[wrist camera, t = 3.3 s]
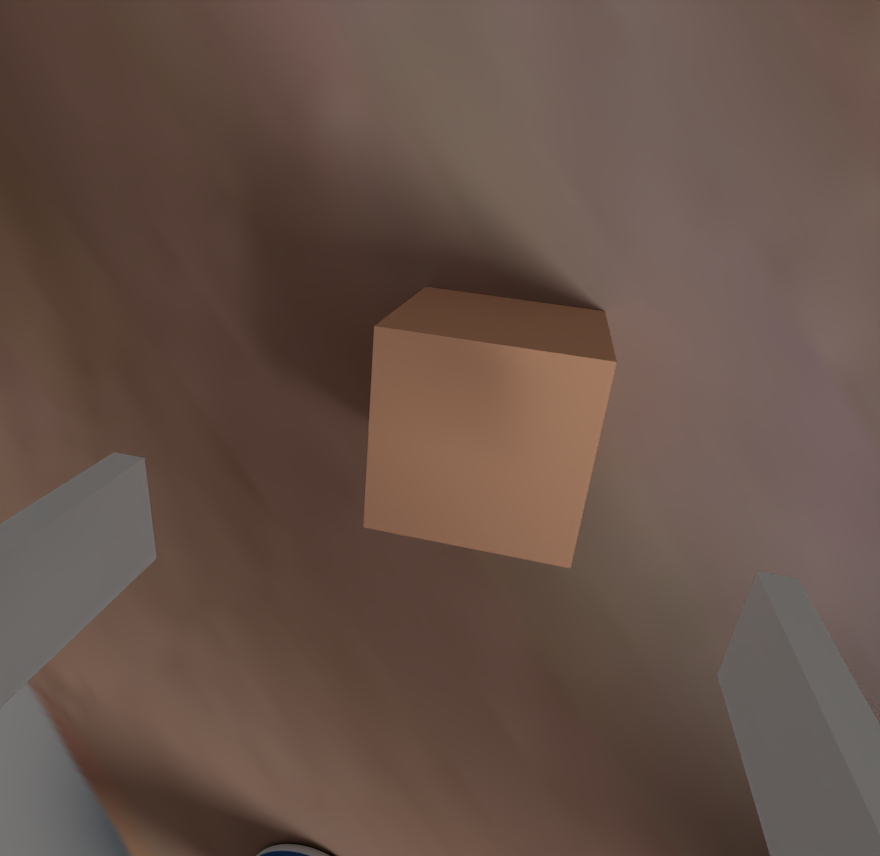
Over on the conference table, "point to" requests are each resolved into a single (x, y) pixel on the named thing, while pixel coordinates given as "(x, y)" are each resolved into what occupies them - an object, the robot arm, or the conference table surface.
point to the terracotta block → (486, 422)
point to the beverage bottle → (291, 851)
